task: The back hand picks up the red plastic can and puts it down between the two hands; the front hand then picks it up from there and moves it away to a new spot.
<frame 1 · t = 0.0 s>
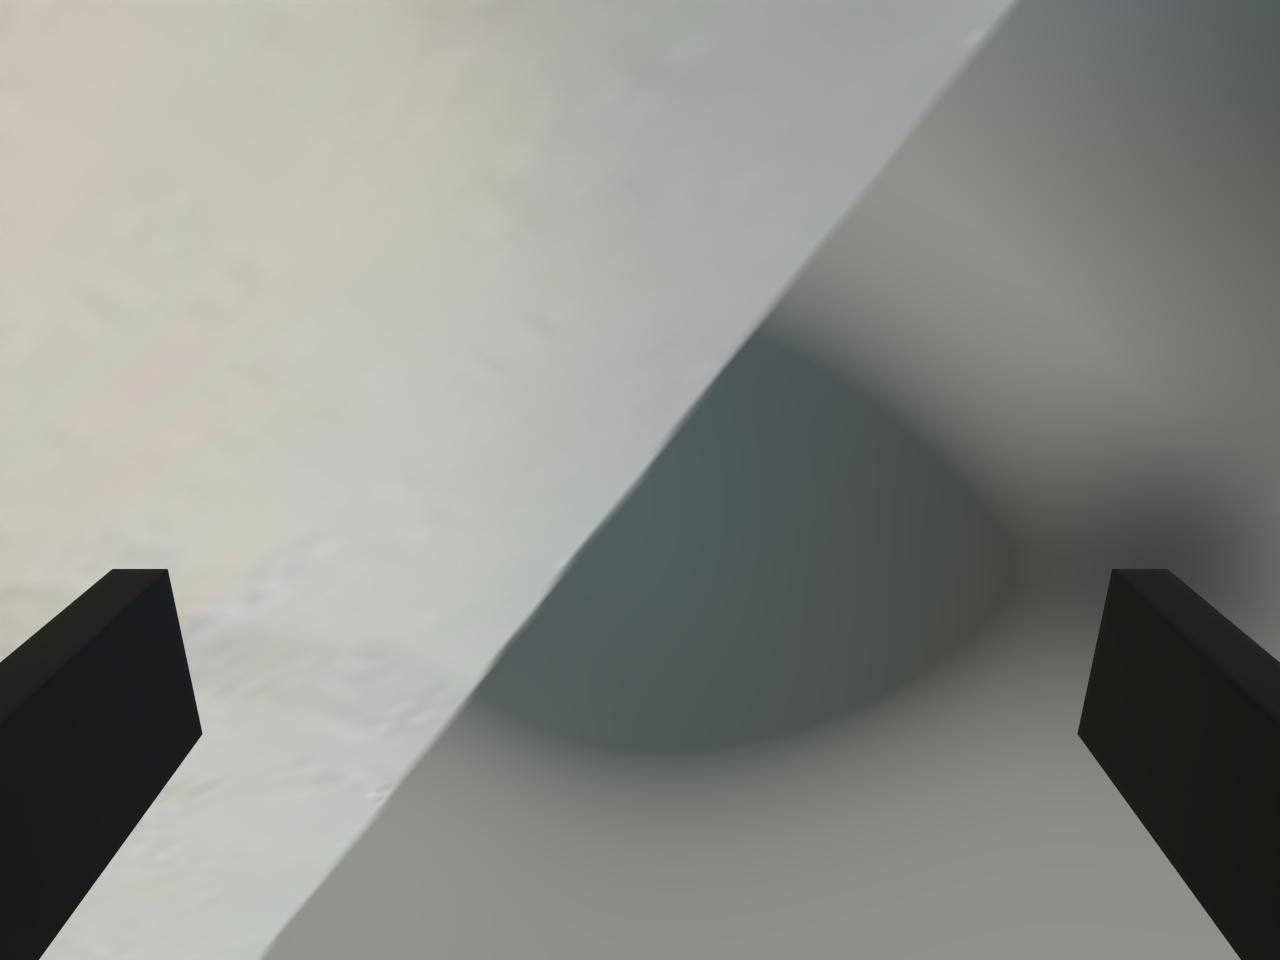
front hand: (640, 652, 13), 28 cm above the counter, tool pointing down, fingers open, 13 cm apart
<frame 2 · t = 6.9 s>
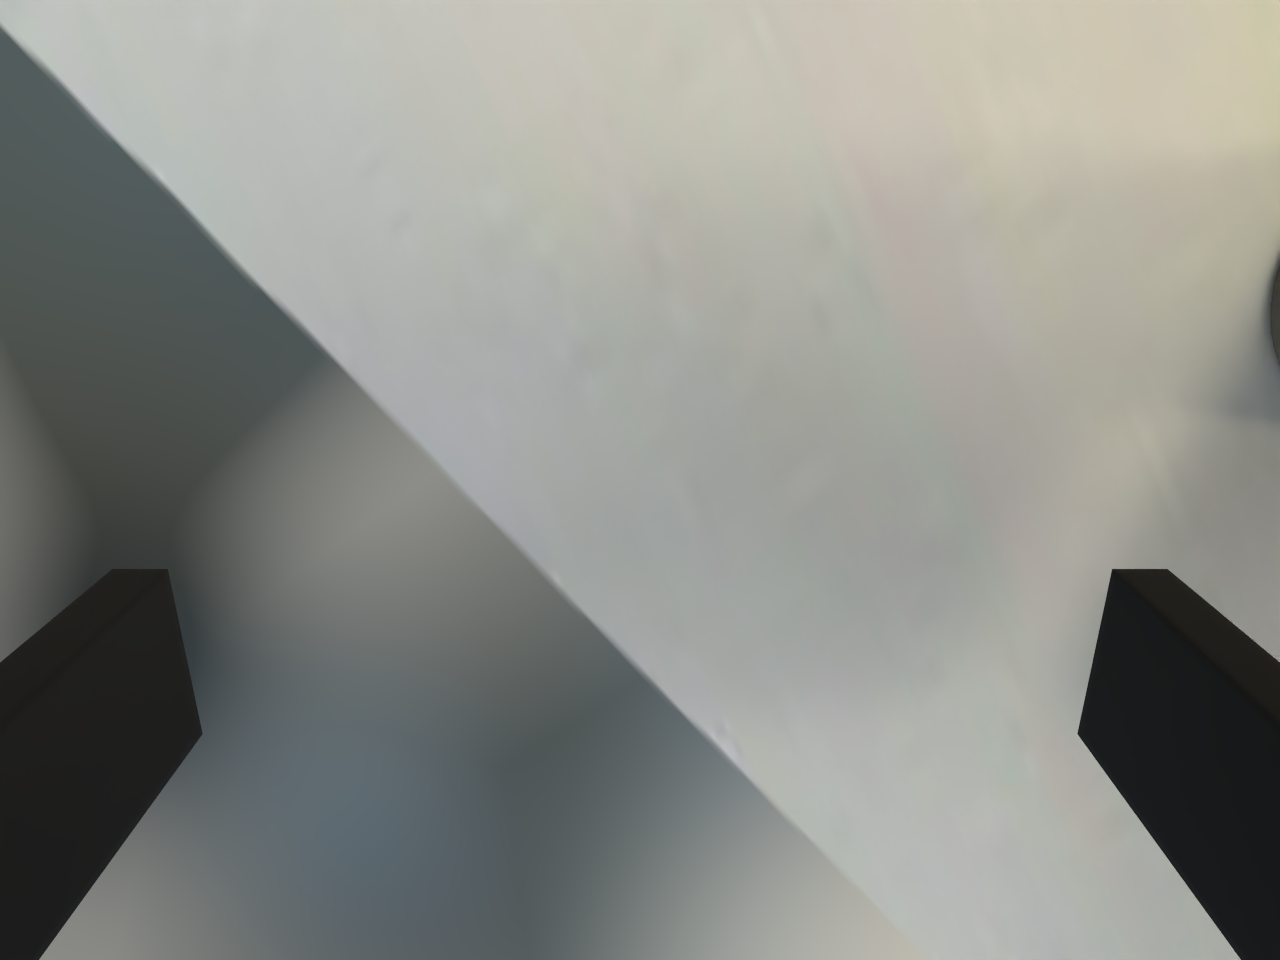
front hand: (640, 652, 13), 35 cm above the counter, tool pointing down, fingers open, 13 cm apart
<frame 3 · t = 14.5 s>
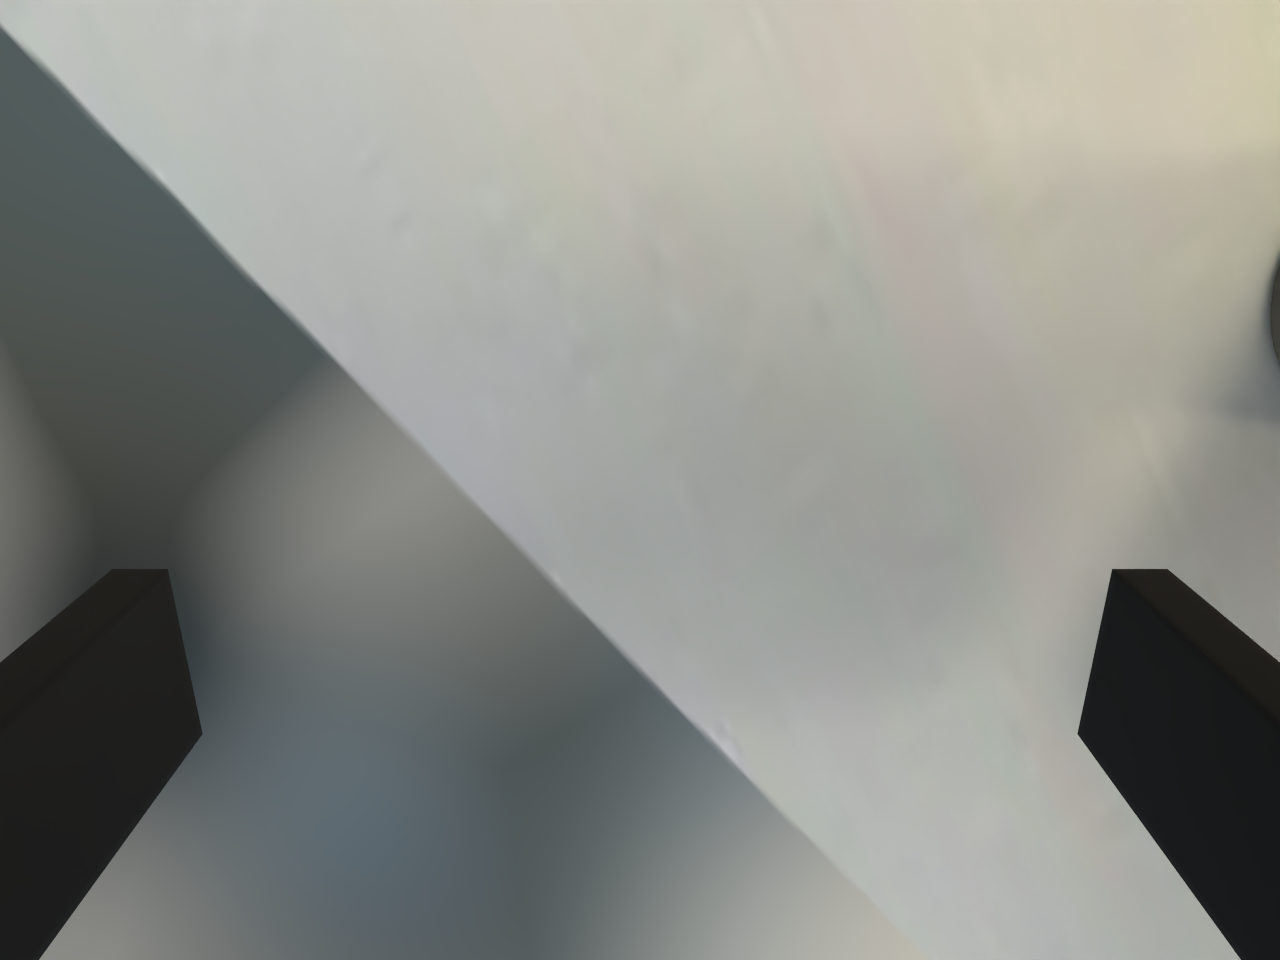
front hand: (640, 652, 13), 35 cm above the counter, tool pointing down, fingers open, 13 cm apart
when the back hand's fingers open (7 cm above the counter, at t = 22.1 s): can drops 2 cm, on the counter.
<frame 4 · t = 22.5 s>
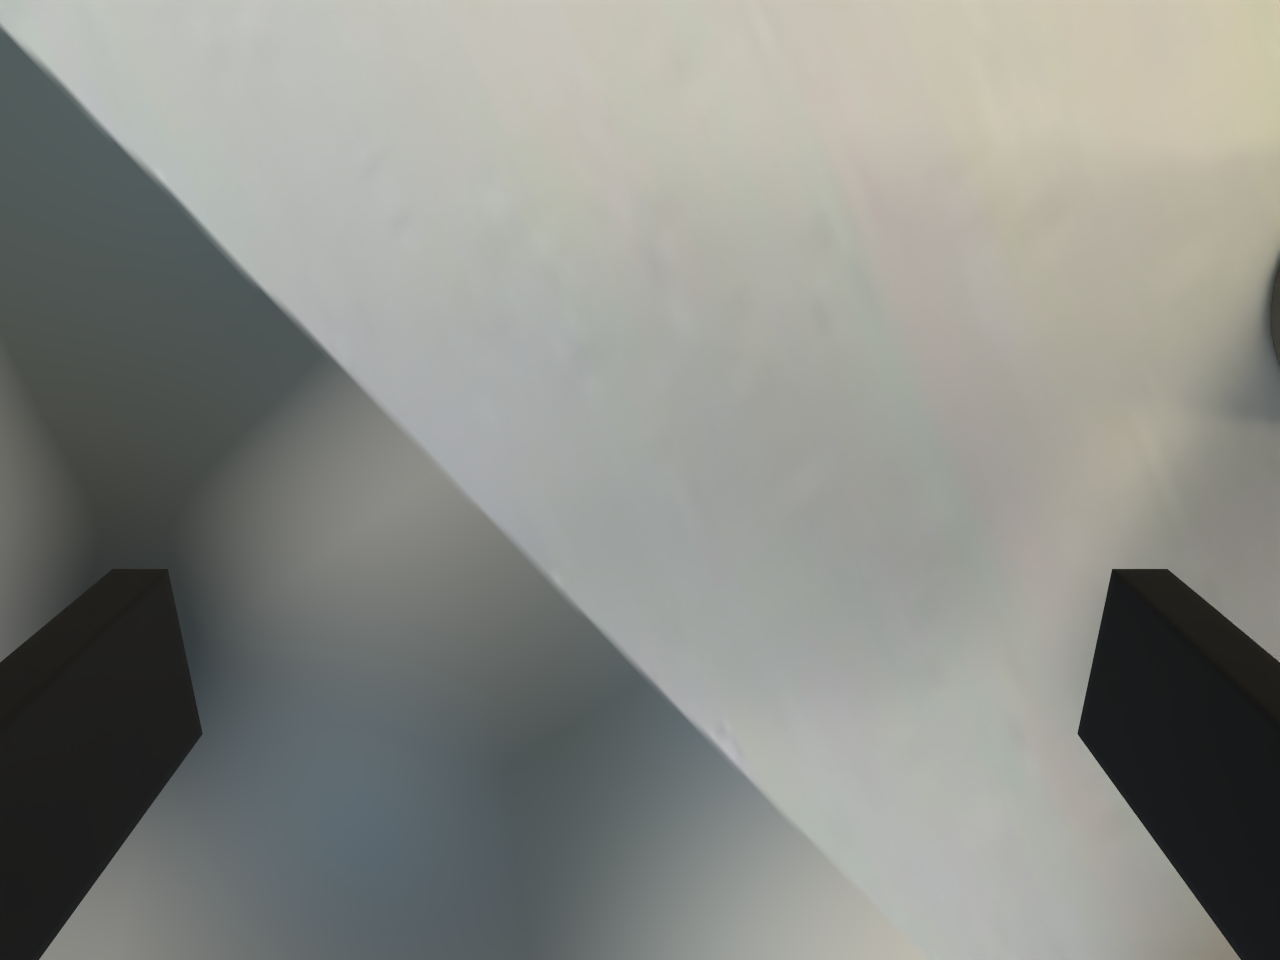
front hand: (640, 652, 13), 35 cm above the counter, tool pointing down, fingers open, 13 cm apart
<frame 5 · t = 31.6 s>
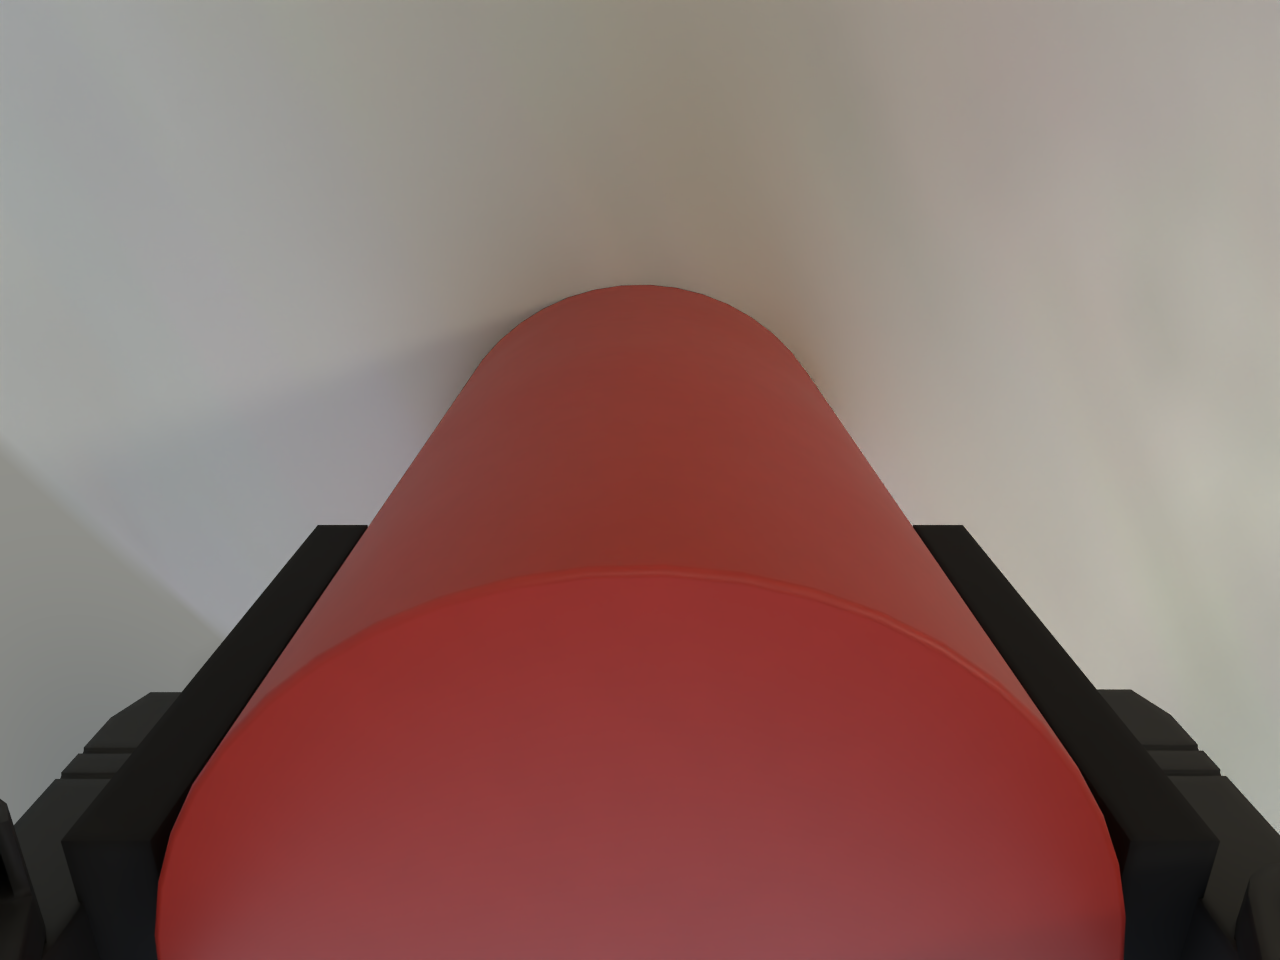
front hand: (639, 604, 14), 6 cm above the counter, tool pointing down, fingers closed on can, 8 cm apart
can: (640, 479, 19), on the counter, touching front hand
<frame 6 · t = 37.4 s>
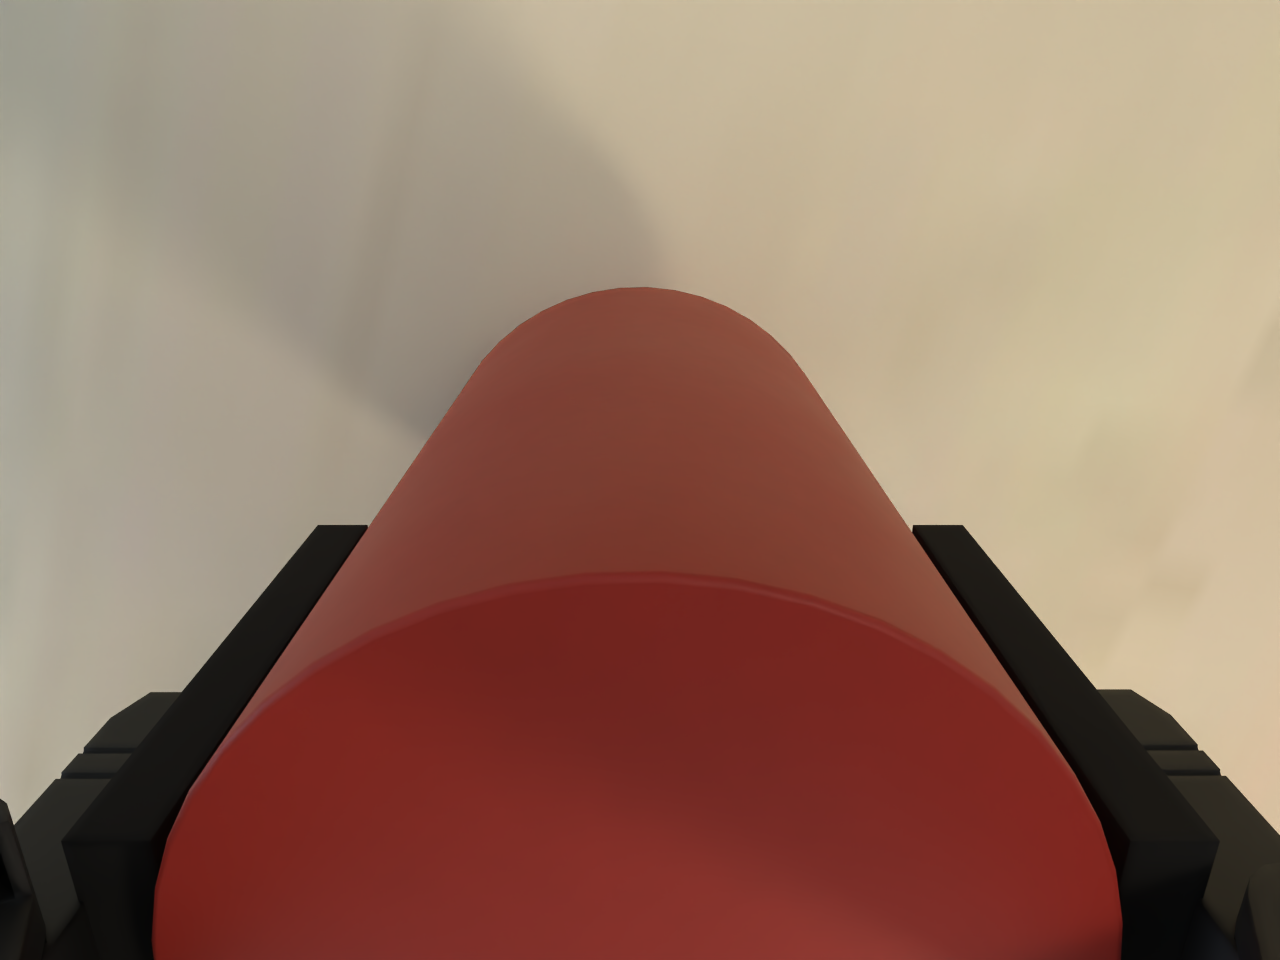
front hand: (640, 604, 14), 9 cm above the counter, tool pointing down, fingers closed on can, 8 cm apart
can: (638, 481, 19), point 4 cm above the counter, touching front hand
when the front hand's fingers open (7 cm above the counter, at t = 43.2 s): can drops 2 cm, on the counter.
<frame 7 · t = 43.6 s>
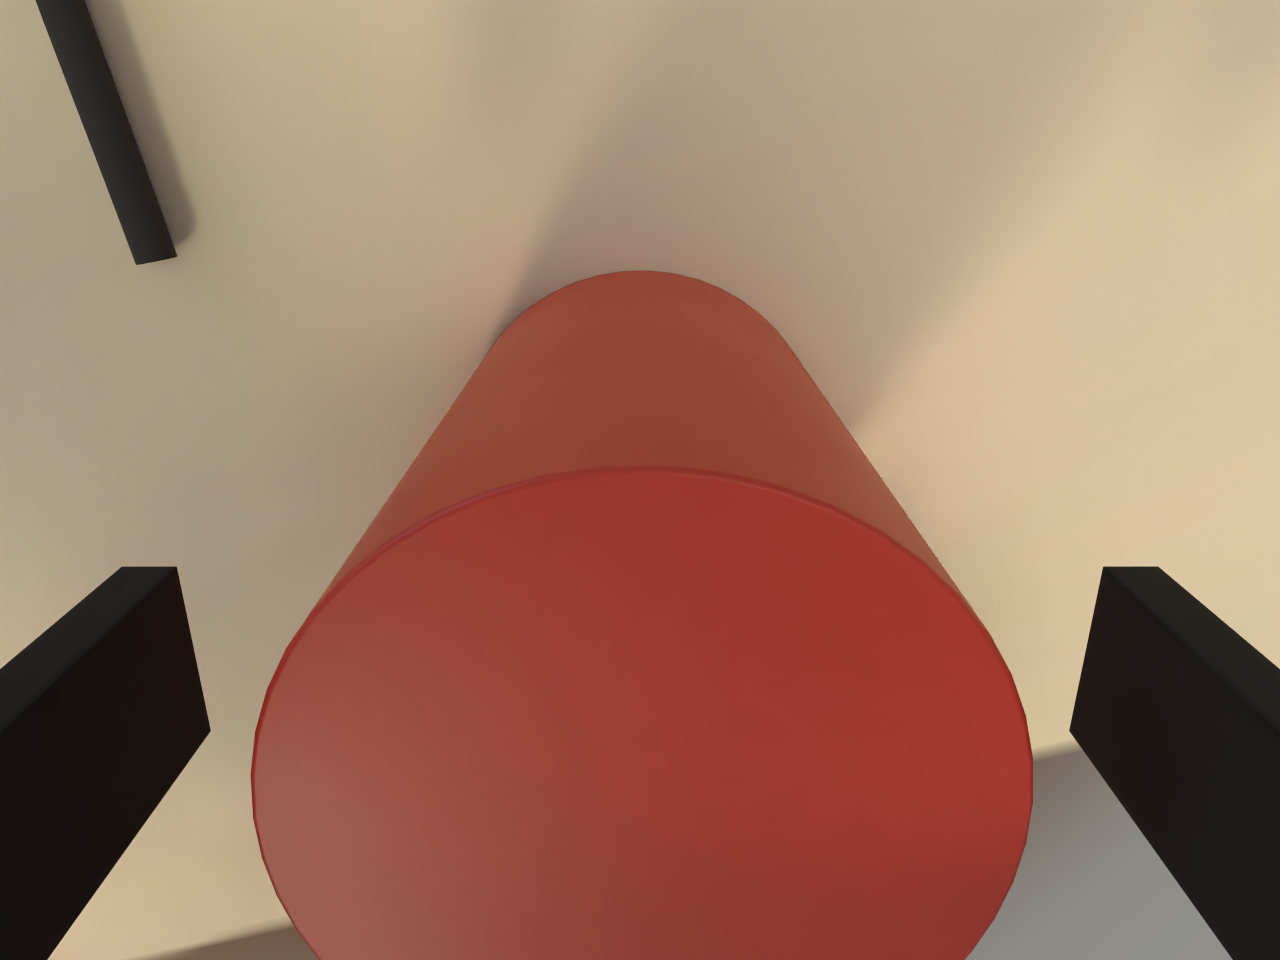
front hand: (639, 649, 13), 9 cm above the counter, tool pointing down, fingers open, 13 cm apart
can: (640, 449, 21), on the counter
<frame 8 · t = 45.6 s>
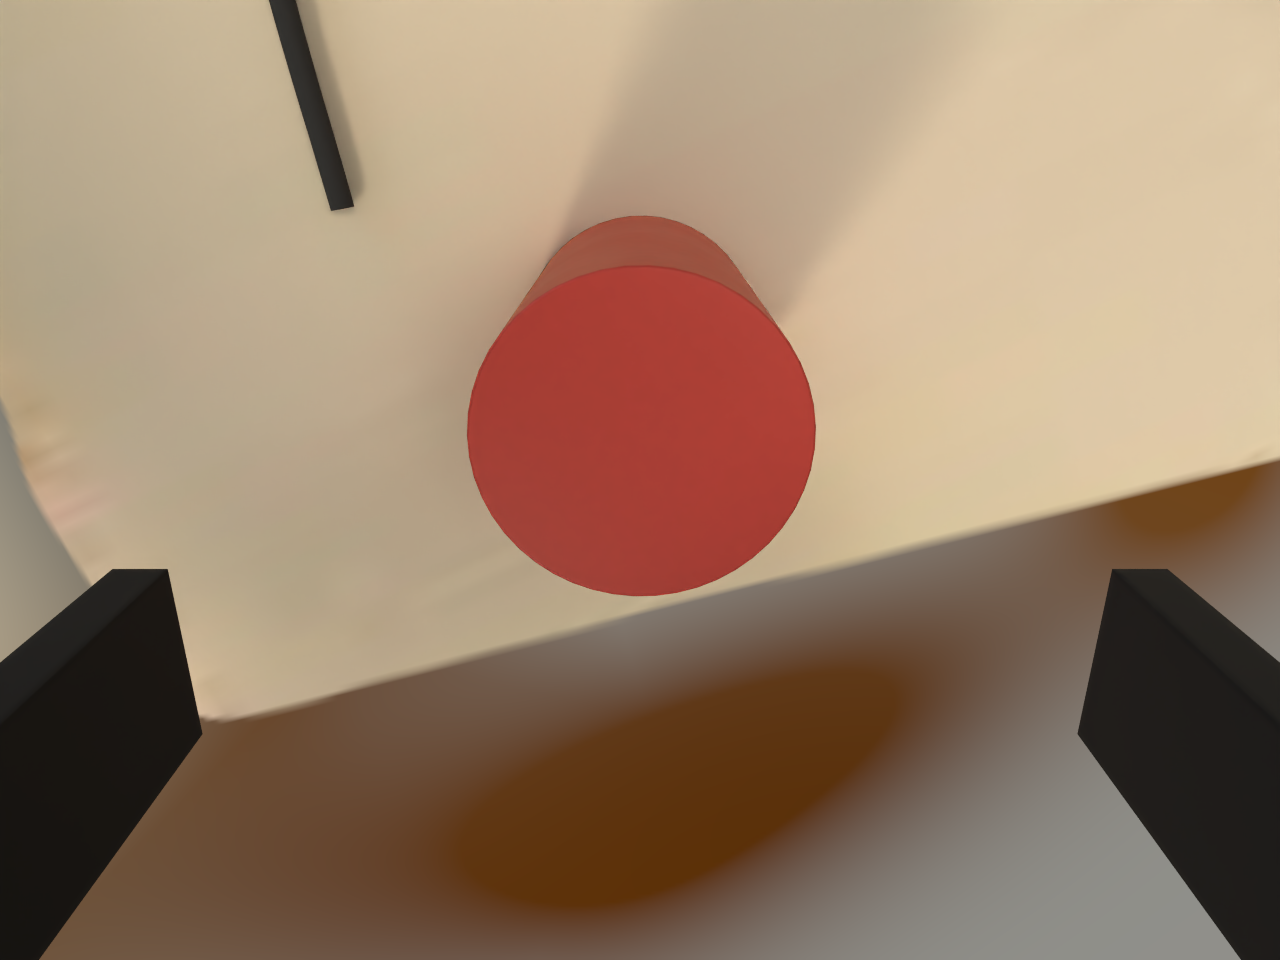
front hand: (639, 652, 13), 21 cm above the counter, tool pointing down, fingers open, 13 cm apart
can: (640, 333, 33), on the counter
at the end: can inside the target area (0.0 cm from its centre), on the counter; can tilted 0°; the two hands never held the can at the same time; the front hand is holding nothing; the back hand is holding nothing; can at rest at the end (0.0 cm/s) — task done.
